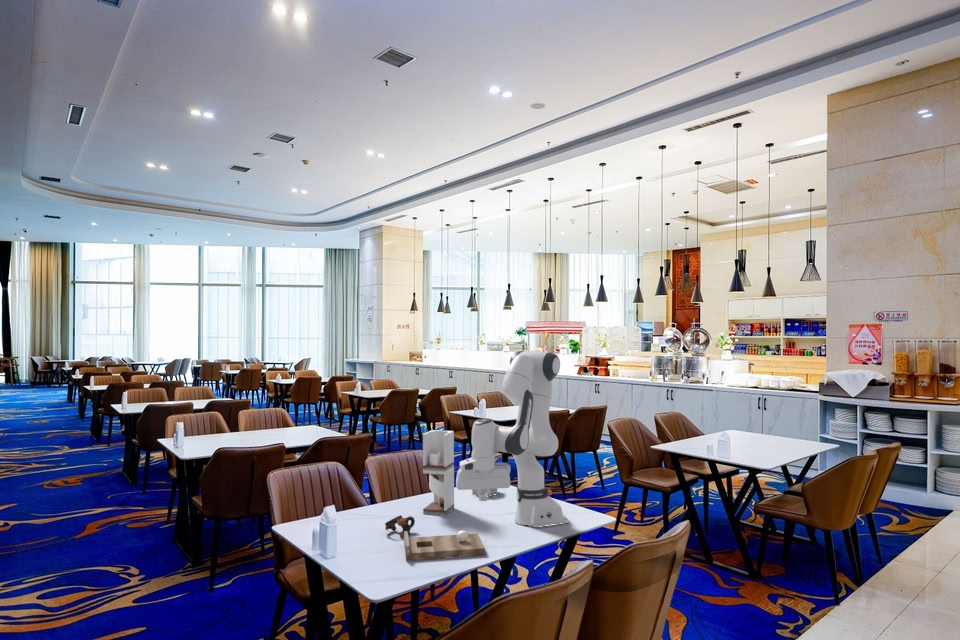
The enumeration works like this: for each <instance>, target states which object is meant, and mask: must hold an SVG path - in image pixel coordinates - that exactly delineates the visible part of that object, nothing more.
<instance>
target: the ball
mask: <svg viewBox="0 0 960 640" xmlns="http://www.w3.org/2000/svg"><path fill="white" fill-rule="evenodd" d="M468 534H469V533H467V531H465V530H460V531H458V532H457V533H456V535H457V539H458V540H459V541H460V542H465V541H466V540H467V538H468Z"/></svg>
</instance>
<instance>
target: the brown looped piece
mask: <svg viewBox="0 0 960 640" xmlns="http://www.w3.org/2000/svg"><path fill="white" fill-rule="evenodd" d="M409 522H410V524H409ZM396 524H397V525H398V526H399V527H401V528H402V530H401V531H400V532H399V533H398V535H399V536H400V539H404V531H407V532H408V536H409V535H411V529H412V528H413V527H414V526H415V517H413V516H407V517H403V516H402V515H401V514H400V515H398V516H396V517H394V518H391V519H390V520H389V521H386V522H385V523H384V525H385V531H389V530H391V531H393V532H395V531H396V530H397V526H396Z"/></svg>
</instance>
